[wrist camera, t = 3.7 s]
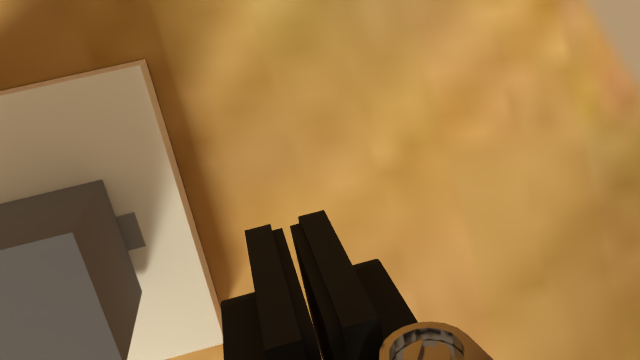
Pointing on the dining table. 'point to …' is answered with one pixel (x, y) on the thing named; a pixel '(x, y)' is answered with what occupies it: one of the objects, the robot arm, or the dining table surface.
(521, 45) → the dining table surface
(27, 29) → the dining table surface
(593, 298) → the dining table surface
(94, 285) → the slider tab
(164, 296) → the console board
